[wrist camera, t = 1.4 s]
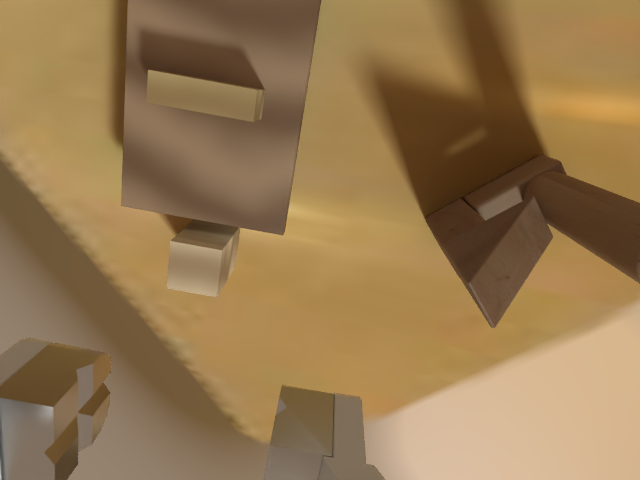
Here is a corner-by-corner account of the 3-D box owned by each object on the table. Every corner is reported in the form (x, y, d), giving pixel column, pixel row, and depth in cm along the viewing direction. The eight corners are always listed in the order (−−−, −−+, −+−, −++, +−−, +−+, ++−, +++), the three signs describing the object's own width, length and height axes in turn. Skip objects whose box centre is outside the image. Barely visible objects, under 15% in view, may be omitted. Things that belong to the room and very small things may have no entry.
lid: (138, -69, 30) (106, -93, 26) (326, -33, 30) (323, -52, 26) (128, 202, 36) (101, 216, 32) (284, 230, 36) (277, 248, 32)
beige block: (196, 217, 40) (170, 240, 34) (240, 225, 40) (222, 250, 34) (192, 258, 41) (166, 288, 35) (235, 266, 42) (217, 297, 35)
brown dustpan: (423, 216, 39) (486, 314, 22) (540, 152, 37) (710, 206, 20) (442, 250, 40) (516, 370, 23) (557, 190, 38) (734, 272, 21)
